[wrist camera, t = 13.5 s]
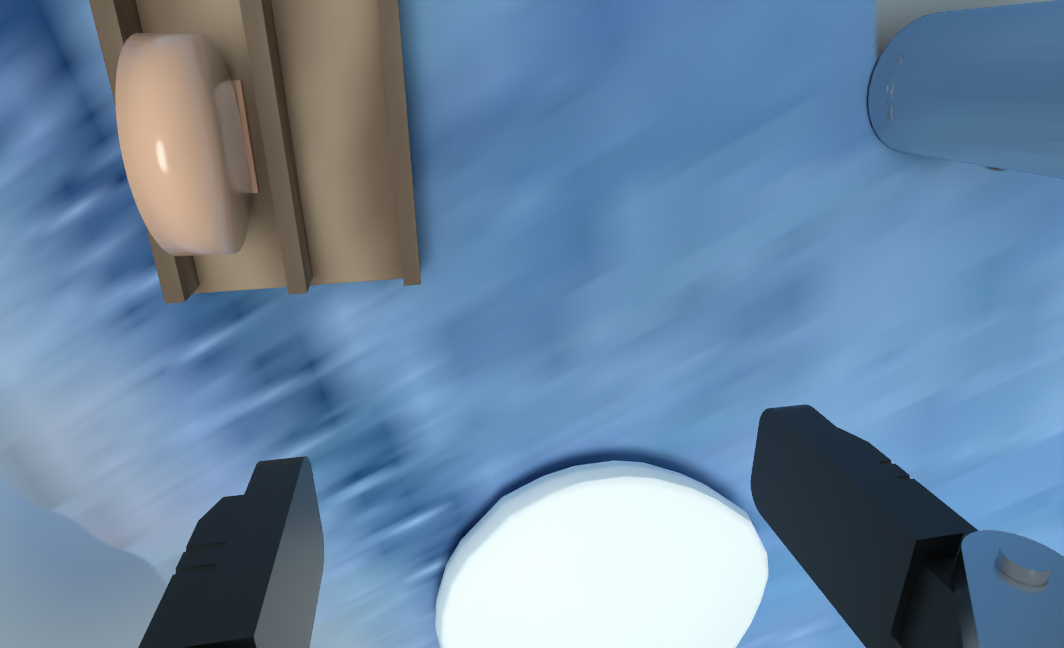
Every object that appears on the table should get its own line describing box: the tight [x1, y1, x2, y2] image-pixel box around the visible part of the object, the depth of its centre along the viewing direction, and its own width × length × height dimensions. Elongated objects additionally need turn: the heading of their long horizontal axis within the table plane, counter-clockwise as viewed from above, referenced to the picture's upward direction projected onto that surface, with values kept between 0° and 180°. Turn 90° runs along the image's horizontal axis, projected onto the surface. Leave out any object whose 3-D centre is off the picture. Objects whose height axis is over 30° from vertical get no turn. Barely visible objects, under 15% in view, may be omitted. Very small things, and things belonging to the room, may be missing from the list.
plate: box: [435, 460, 768, 648], centre depth 52 cm, size 28×6×27 cm
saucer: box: [115, 33, 260, 256], centre depth 30 cm, size 3×10×11 cm, turn 0°
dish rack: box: [89, 0, 421, 303], centre depth 34 cm, size 14×18×4 cm
